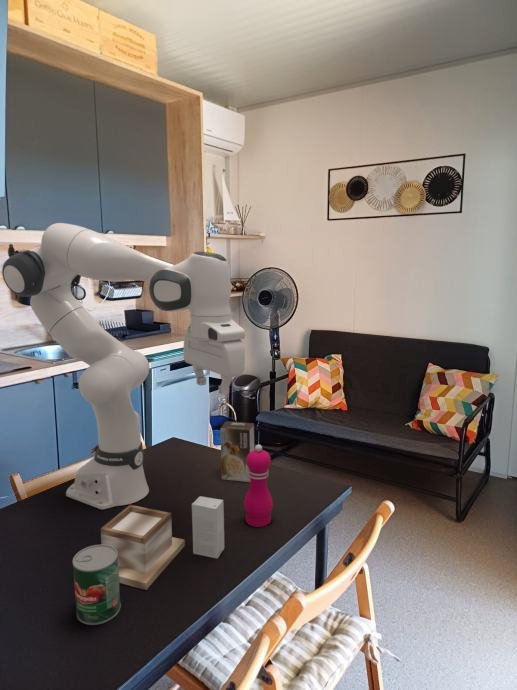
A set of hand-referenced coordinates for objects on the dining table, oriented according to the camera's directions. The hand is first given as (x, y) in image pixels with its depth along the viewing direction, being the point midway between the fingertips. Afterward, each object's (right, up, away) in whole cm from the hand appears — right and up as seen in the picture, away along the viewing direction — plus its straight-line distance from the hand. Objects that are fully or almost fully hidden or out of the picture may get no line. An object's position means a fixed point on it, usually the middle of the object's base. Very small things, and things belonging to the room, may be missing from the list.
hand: (212, 389), depth 110 cm
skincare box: (-1, -37, +1) cm, 37 cm away
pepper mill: (+10, -34, +13) cm, 38 cm away
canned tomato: (-20, -40, -17) cm, 48 cm away
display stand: (-16, -37, -2) cm, 40 cm away
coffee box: (+4, -30, +38) cm, 48 cm away
